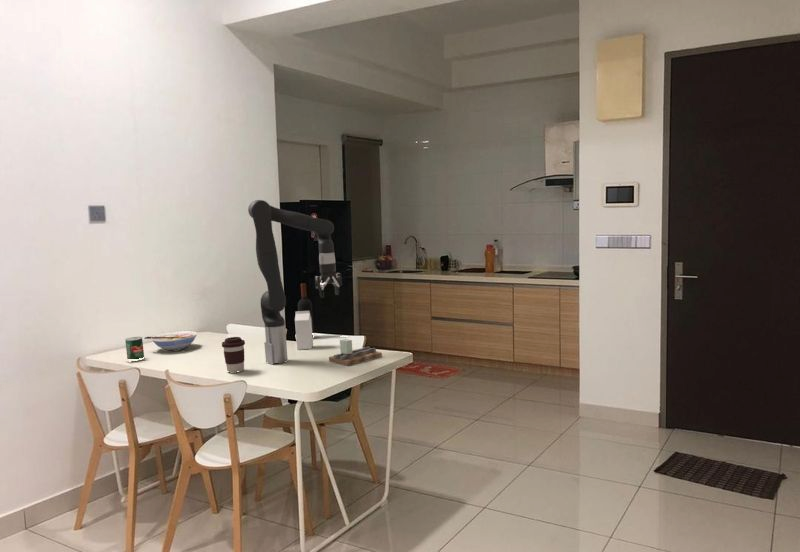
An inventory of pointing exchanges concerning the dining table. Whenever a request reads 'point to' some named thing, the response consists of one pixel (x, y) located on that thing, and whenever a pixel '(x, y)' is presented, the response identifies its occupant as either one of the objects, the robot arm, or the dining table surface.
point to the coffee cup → (234, 353)
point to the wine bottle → (305, 303)
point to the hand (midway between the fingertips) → (329, 296)
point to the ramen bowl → (174, 340)
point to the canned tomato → (134, 348)
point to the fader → (346, 346)
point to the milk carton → (303, 330)
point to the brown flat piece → (356, 356)
